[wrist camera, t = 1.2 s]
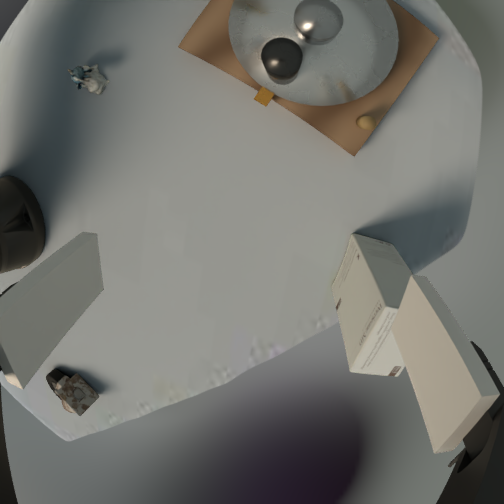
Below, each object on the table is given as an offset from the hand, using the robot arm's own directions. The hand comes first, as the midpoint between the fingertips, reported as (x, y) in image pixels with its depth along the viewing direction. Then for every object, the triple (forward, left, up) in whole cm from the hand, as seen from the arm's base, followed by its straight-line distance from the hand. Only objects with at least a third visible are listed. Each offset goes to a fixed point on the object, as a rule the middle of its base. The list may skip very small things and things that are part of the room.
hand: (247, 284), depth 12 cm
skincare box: (+16, -3, -25) cm, 30 cm away
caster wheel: (-11, -58, -25) cm, 64 cm away
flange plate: (-5, +16, -23) cm, 28 cm away
